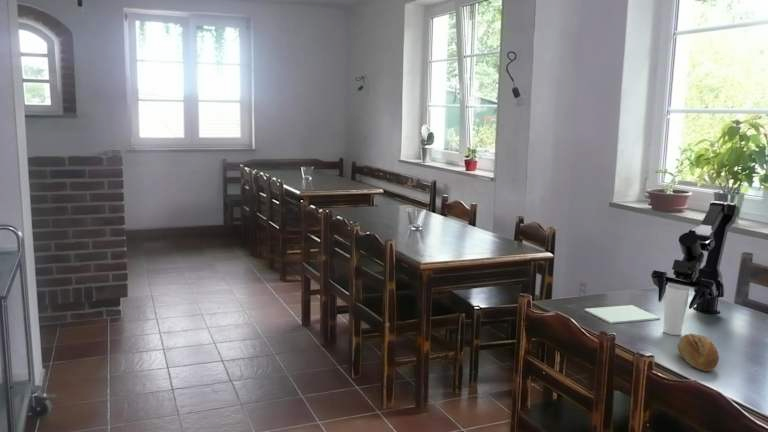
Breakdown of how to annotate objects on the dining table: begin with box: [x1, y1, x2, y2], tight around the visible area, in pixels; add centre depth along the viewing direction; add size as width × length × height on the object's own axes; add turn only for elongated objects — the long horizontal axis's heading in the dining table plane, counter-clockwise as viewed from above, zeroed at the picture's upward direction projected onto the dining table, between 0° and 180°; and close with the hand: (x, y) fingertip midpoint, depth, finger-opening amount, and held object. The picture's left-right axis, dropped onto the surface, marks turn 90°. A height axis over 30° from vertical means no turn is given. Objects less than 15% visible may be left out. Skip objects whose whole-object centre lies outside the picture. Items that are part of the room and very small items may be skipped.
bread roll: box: [677, 333, 720, 372], centre depth 181 cm, size 10×15×8 cm, turn 176°
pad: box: [583, 304, 661, 325], centre depth 222 cm, size 20×14×1 cm
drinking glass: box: [662, 284, 690, 336], centre depth 205 cm, size 7×7×15 cm
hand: (674, 304), depth 204 cm, fingers open, 9 cm apart
